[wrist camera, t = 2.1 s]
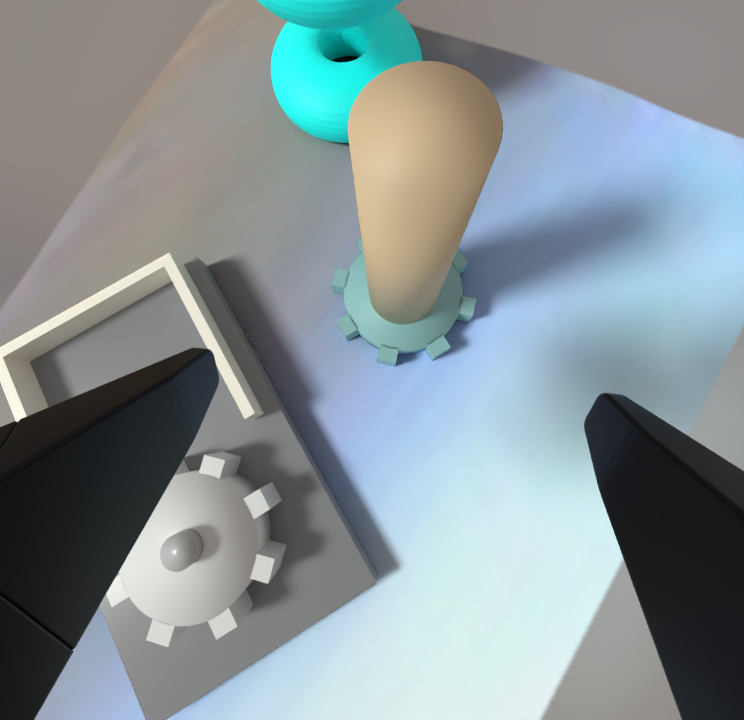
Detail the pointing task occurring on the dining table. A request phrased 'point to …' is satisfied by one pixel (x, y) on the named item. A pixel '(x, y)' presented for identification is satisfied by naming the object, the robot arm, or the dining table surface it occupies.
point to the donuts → (334, 57)
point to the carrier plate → (265, 459)
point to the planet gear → (415, 203)
